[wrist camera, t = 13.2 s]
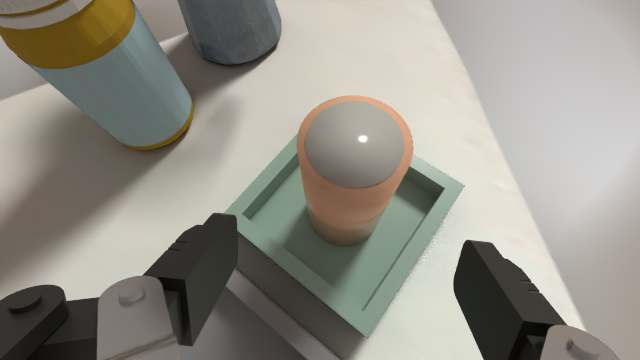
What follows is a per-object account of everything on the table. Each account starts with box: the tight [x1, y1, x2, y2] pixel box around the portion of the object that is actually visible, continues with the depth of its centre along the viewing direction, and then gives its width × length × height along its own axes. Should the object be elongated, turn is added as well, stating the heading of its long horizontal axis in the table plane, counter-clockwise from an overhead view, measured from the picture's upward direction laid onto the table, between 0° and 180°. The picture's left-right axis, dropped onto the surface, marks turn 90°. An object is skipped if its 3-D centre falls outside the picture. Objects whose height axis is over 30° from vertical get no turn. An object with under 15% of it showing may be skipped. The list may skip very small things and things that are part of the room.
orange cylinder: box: [297, 96, 413, 247], centre depth 19 cm, size 5×5×10 cm
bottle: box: [0, 0, 194, 150], centre depth 21 cm, size 7×7×15 cm
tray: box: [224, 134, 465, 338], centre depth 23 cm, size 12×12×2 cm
